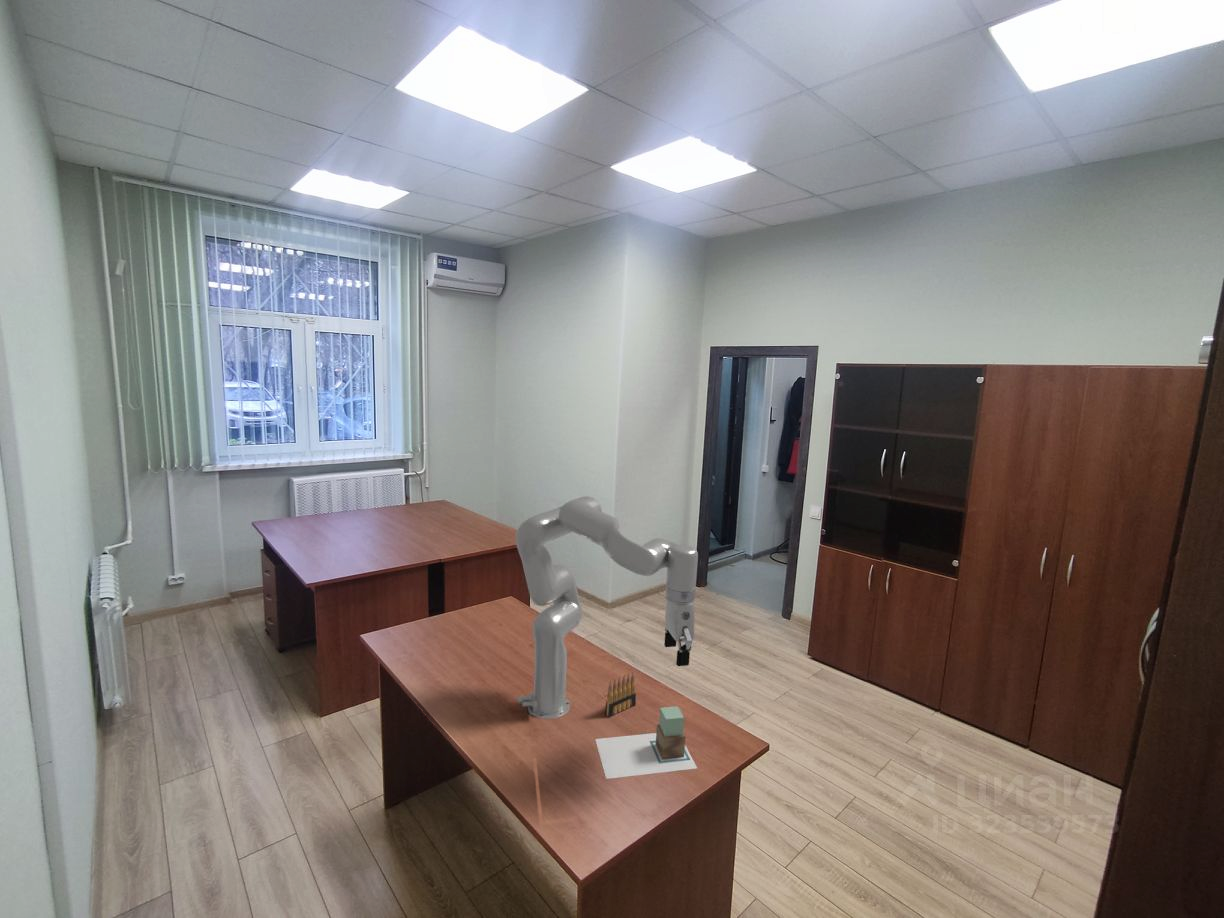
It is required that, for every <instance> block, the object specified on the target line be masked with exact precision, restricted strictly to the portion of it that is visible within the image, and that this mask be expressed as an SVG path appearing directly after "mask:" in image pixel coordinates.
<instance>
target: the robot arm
mask: <svg viewBox="0 0 1224 918" xmlns="http://www.w3.org/2000/svg"><path fill="white" fill-rule="evenodd" d="M619 528H620V523H619V520H618V519H617V518H616V517H614V516H611V515H610V514H607V513H605V512H603V511H602V506H601V504H600V502H599V501H598V500H597V499H595V498H594V497H592V496H589V495H588V496H587V495H586V496H584V495H583V496H581V497H578V498H574V499H571V500H569V501H567V502H566V503H564V504H563V505H561V506H559V507H557V508H553V509H551V510H548V511H545V512H541V513H538V514H536V515H533V516H531V517H529V518H527V519H526V520H524V521H523V522H522V523H521V524H520V525H519V526H518V528H517V531H516V533H515V544H516V548H517V552H518V554H519V557H520V559H521V564H522V567H523V572H524V575H525V580H526V586H527V589H528V592H529V596H530V599H531V601H532V602H533V604H535V605H536V606H539V607H540V606H541V607H544V606H547V605H550V604H552V605H550V606H549V607H546V608H545V609H544V610H542V611H541V612H539V613H538V614H537V615H536V616H535V618H534V619H533V622H532V629H531V630H532V636H533V642H534V671H533V672H534V673H533V674H534V675H533V690H532V691H531V694H528V695H520V696H518V697H517V703H518V704H522V708H527V710H528V714H530V716H531V717H532V716H534V717H537V718H539V719H542V720H543V719H544V720H551V719H552V720H553V719H557V718H560V717H562V716H564V715H566V714H568V712H569V710H570V708H571V703H570V700H569V699H568V698H567V697H566V693H567V691H566V689H567V687H566V686H567V662H568V660H567V659H568V658H567V657H568V652H567V647H566V645H565V641H564V639H565V636H567V635H568V634H569V633H570V632H572V631H573V630H574V629H575V628H577V627H578V626H579V625H580V623H581V622H582V618H583V609H582V604H581V599H580V595H579V591H578V587H577V583H576V579H575V576H574V575H573V573H572V571H571V570H570V569H569V568H568V567H566V566H565V565H562V564H554V565H553V560H552V557H551V554H550V552H549V550H548V549H547V548H546V546H544V545H545V544H547V543H548V542H551V541H554V540H556V539H558V538H560V537H564V536H565V535H569V534H570V533H574V534H577V535H578V536H580V537H583V538H584V539H586V540H588V541H591V542H592V543H595V544H596V545H598V546H600V547H602V548H603V550H604V551H605V553H606V555H608V556H609V558H610V559H611V560H612V561H613V562H615V564H617V565H618V566H620V567H622V568H624V569H625V570H628V571H630V572H632V573H634V574H637V575H639V576H643V577H650V576H653V575H655V574H656V573H658V572H659V571H661V570H662V569H664V568H666V570H667V571H666V572H667V573H666V583H665V584H666V586H665V600H666V606H665V616H664V617H665V621H664V623H665V627H664V631H665V632H664V647H665V648H674V647H675V648H676V647H677V646H678V647H677V648H678V650H677V651H676V660H675V661H676V663H675V664H676V666H677V667H685V666H689V665H690V654H691V651H692V645H693V641H694V640H695V639H694V638H695V605H694V603H695V601H696V588H697V587H696V586H697V575H698V574H697V572H698V561H699V559H698V558H699V553H698V550H697V549H696V548H695V547H694V546H691V545H687V544H678V543H675V542H672V541H671V540H667V539H665V538H659V537H658V538H653V539H652V540H650V541H648V542H646V543H644V544H643V545H641V544H638V543H636V542H634V541H633V540H630V539H629V538H627V537H625V536H624V535H623V534H622V533H621V532H620V530H619ZM682 643H684V644H683V645H682Z"/></svg>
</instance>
